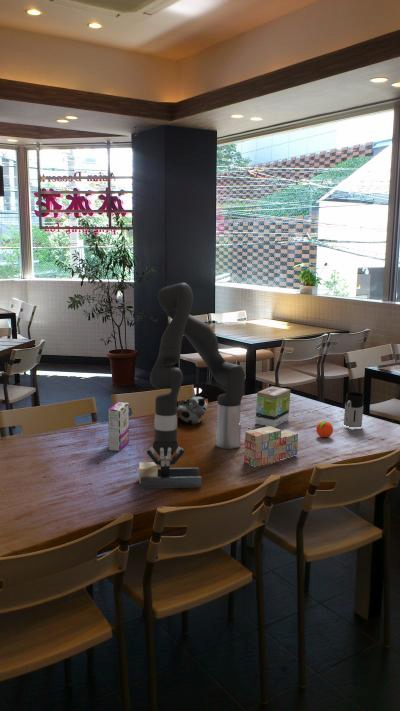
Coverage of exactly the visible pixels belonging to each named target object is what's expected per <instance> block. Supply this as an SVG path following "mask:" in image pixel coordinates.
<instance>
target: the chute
mask: <svg viewBox="0 0 400 711" xmlns="http://www.w3.org/2000/svg"><path fill="white" fill-rule="evenodd" d="M199 474H200V468H199V467H170V469H169V475H167V477H163V475H161V467H158V477H141V483H139V484H140V489H142V490H143V489H181V488H182V489H189V488H190V489H192V488H193V489H194V488H197V487H199V488H202V476H200V475H199Z"/></svg>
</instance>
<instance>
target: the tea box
mask: <svg viewBox="0 0 400 711" xmlns="http://www.w3.org/2000/svg"><path fill="white" fill-rule="evenodd" d="M256 393H257V394H256V395H257V396H256V408H255V420H254V422H255V425H256V424H257V425H261V426H264V425H265V426H264V427H268V426H271V427H274V428H276V427H277V426H279V425H281V424H282V423H285V422H287V421H288V420H289V414H290V404H291V403H290V402H291V388H290V389H289V388H283V387H279V386H278V387H277V386H269V387H266V388H264V389H262V390H260V391H257V392H256ZM287 419H288V420H287ZM286 420H287V421H286ZM284 421H285V422H284Z"/></svg>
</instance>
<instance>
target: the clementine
mask: <svg viewBox="0 0 400 711" xmlns="http://www.w3.org/2000/svg"><path fill="white" fill-rule="evenodd" d="M333 433H334V427H333V425H332V424H331V423H330V422H329V421H327V420H322V421H320V422H318V424H317V425H316V434H317V436H319V437H320V436H321V438H323V437H327V438H329V437H331V436H332V435H333Z"/></svg>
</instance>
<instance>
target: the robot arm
mask: <svg viewBox="0 0 400 711" xmlns="http://www.w3.org/2000/svg"><path fill="white" fill-rule="evenodd" d="M157 300H158V302H159V305H160V307H161V308H162V310H163V311H164V313H166V315H167V316H168V317H169V318H170V319H171V321H170V322H169V324H168V326H167V327H166V328H165V330H164V332H163V334H162V337H161V339H160V344H159V352H158V356H157V359H156V361H155V363H154V365H153V368H152V369H151V372H150V375H149V381H150V382H149V383H150V384H151V386H152V387H153V388H155V389H170V392H167V393H164V394H163V393H161V394H159V395H157V396H156V398H155V405H154V406H155V407H154V408H155V410H154V422H153V423H154V424H153V426H154V427H153V428H154V429H153V432H154V434H153V436H154V437H153V443H152V446H151V447H148V448H146V454H147V455H148V457H149V458H150V459H151V460H152V462H155V464H156V465H157V466H158V465H159V466H160V468H161V475H163V477H167V475H169V469H170V468H171V467H170V466H172V465H175V464H176V463H177V462H178V461H179V459H181V457H182V456H183V454H184V453H185V450H184V448H183V447H180V446H179V443H178V416H177V407H178V396H179V393H180V389H181V386H182V384H183V380H184V374H183V371H182V370H181V369H180V368H179V367H174V366H171V365H176V364H178V363H179V361H180V358H181V350H182V344H183V343H182V342H183V338H184V336H185V337H186V339H187V340H188V341H189V343H190V345H191V346H192V347H193V348H194V350H195V351H196V352H197V353H198V355H199V357H200V358H201V359H202V360H203V362H204V363H205V364H206V366H207V368H208V370H209V372H210V373H211V375H212V377H213V379H214V381H215V382H216V383H217V384H219V385H221V386H224V387H226V389H225V393H222V394H221V393H220V394H219V395H218V396H217V400H216V401H217V403H216V407H217V408H216V432H215V434H216V435H215V445H216V447H218V448H221V449H226V450H227V449H229V450H232V449H236V448H241V434H242V424H241V409H242V408H241V406H242V399H243V396H244V389H245V379H246V377H245V376H246V375H245V370H244V368H243V366H241V365H240V364H236V363H230V362H229V361H226V360H225V359H224V357H223V356H222V355H221V353H220V351H219V340H218V338H217V335H216V334H215V333H214V331H213V330H212V328H211V327H210V325H208V324H207V323H206V322H205V321H202V320H201V319H199V318H197V317H195V316H194V315H191V310H192V306H193V303H194V302H193V301H194V293H193V290H192V288H191V286H190V285H189V284H187V283H186V282H179V283H175V284H172V285H167V286H165V287H163V288H161V289H160V290H159V291H158V293H157ZM155 452H156V454H157V455H158V456H160V457H159V458H160V459H159V458H158V456H156V454H155ZM175 452H176V453H175ZM174 453H175V455H174ZM172 455H173V457H171V456H172Z"/></svg>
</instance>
